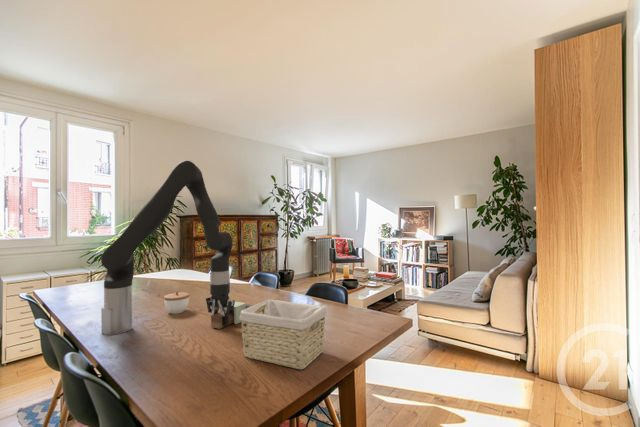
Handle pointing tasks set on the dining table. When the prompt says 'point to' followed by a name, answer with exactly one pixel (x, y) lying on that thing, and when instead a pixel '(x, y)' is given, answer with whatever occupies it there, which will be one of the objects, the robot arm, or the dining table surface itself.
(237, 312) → the sage block
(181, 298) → the lidded jar
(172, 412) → the dining table surface
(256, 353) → the storage basket
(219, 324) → the walnut block
